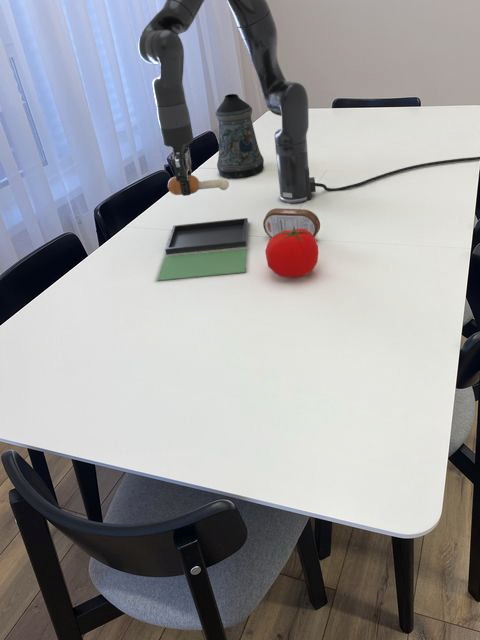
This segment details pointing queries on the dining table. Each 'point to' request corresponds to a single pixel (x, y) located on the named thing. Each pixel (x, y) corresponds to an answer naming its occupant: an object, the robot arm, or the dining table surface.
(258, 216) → the dining table surface
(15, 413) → the dining table surface
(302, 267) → the tomato
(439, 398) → the dining table surface
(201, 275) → the napkin
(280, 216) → the tin
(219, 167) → the beer stein
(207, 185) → the drumstick
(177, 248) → the pan
